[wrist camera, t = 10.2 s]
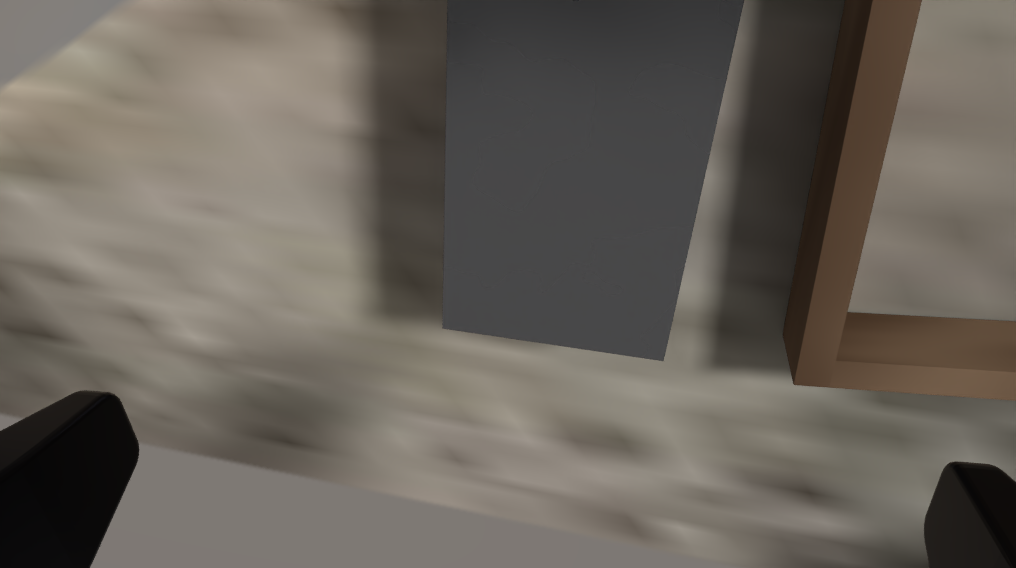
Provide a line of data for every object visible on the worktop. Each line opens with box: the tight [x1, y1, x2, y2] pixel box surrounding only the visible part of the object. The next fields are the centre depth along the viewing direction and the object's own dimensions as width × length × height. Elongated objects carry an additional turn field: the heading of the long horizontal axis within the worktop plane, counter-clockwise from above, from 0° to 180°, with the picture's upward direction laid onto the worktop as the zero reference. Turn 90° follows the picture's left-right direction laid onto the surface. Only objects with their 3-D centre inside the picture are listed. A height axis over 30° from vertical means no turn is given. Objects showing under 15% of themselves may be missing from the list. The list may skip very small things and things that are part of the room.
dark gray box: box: [443, 0, 744, 361], centre depth 16 cm, size 5×9×4 cm, turn 176°
